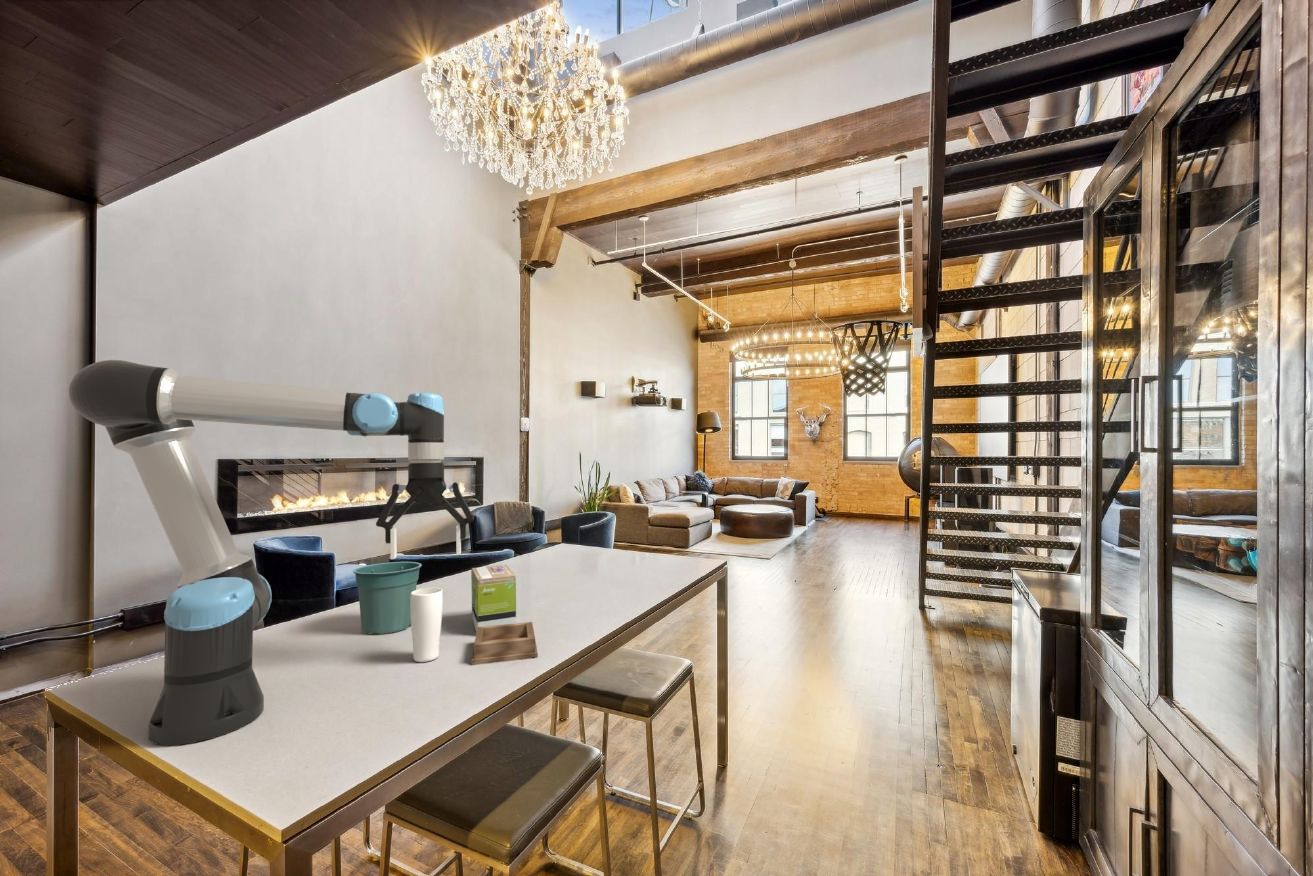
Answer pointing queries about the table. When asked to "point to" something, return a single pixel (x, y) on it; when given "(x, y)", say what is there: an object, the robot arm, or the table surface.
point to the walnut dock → (504, 643)
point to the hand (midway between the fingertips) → (426, 556)
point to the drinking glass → (426, 623)
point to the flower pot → (386, 595)
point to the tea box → (493, 596)
